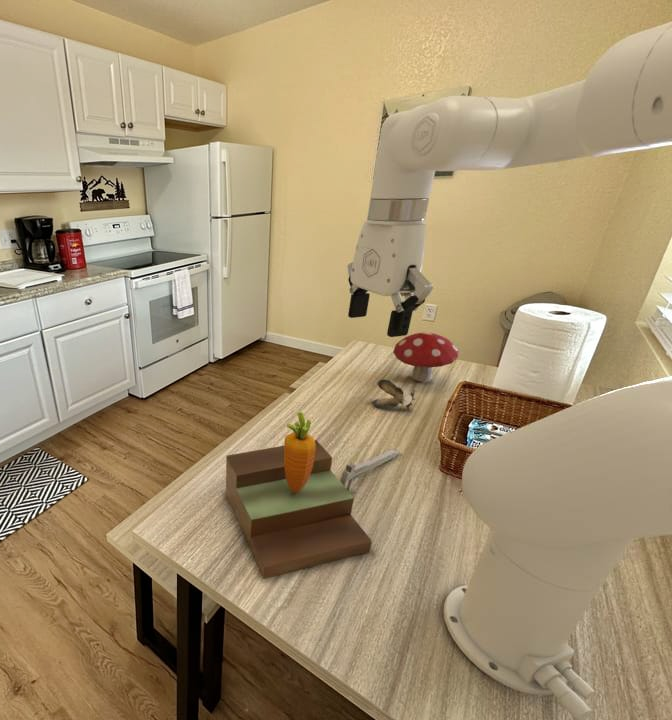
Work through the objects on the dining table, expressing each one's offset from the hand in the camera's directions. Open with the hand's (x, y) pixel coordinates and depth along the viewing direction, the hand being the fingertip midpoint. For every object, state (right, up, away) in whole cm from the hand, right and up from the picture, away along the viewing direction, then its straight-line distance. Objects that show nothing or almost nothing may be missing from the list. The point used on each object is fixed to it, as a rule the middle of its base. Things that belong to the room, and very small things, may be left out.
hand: (375, 325), depth 62 cm
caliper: (+6, -29, +15) cm, 33 cm away
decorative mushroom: (+37, -12, +51) cm, 64 cm away
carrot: (-13, -28, +2) cm, 31 cm away
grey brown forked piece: (+23, -18, +39) cm, 48 cm away
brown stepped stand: (-12, -34, +5) cm, 36 cm away
